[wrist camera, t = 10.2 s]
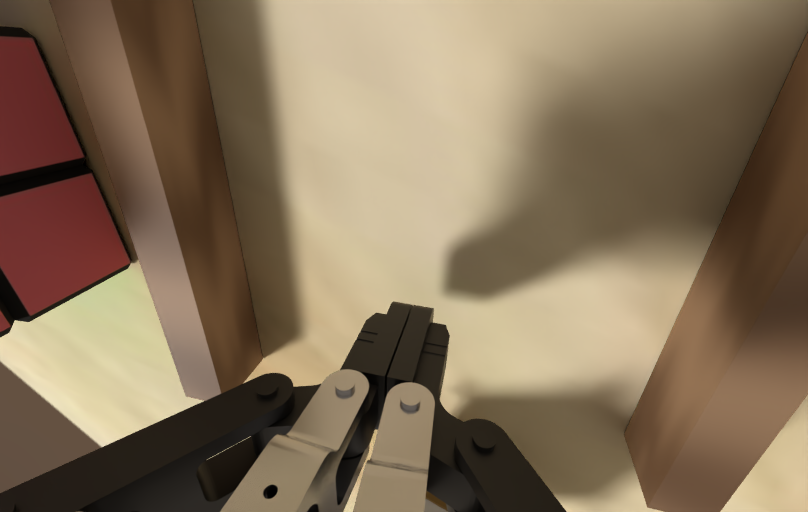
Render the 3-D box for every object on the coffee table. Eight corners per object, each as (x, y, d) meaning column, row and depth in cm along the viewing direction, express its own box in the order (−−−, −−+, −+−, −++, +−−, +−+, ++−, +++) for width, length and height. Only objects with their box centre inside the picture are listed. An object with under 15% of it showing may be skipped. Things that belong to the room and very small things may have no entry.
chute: (112, -112, 11) (-8, -165, 8) (1030, -179, 7) (1343, -323, 4) (228, 351, 19) (185, 396, 17) (676, 445, 15) (711, 522, 13)
